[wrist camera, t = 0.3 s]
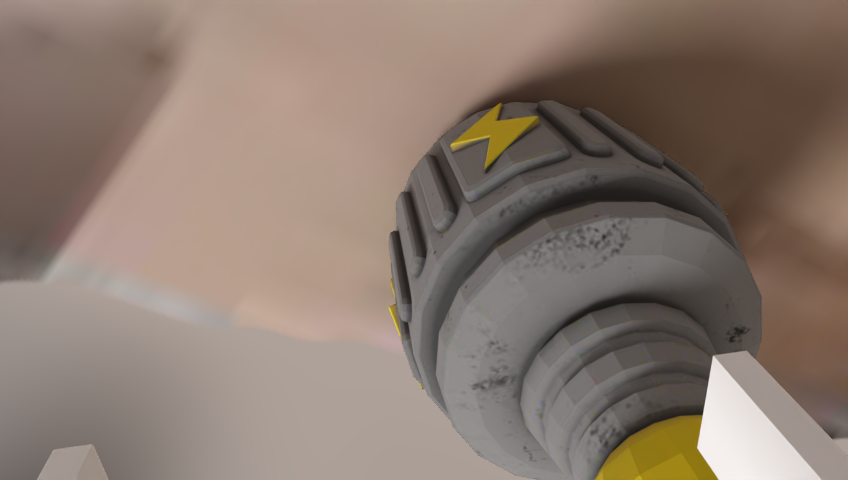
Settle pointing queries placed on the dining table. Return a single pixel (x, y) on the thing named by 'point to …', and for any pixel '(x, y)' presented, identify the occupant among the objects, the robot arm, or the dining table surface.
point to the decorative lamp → (567, 294)
